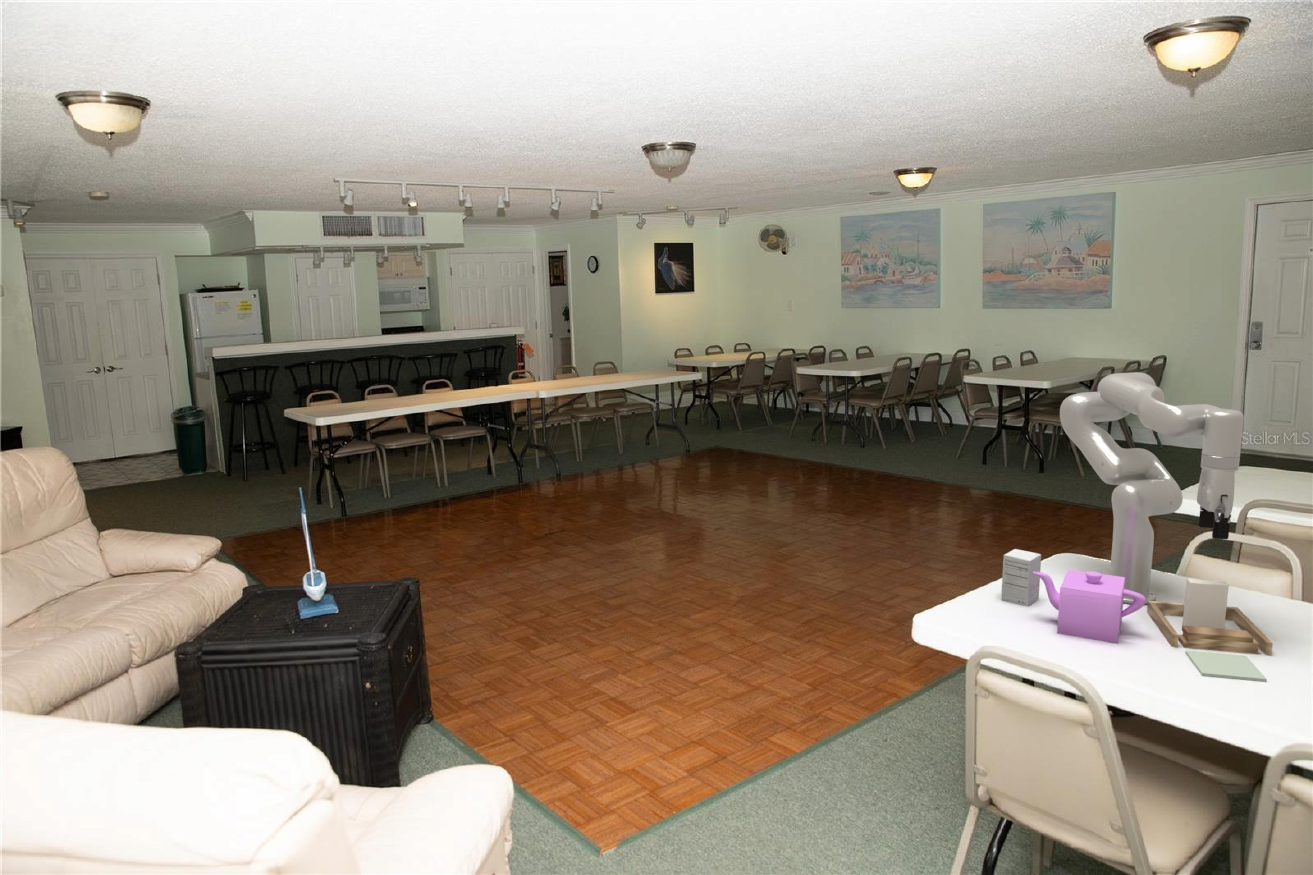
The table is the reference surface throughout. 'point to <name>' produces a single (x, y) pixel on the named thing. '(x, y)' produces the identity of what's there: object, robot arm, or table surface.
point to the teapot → (1091, 604)
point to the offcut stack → (1218, 639)
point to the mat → (1225, 666)
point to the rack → (1232, 613)
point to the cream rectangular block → (1205, 603)
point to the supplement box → (1021, 577)
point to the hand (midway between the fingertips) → (1212, 532)
